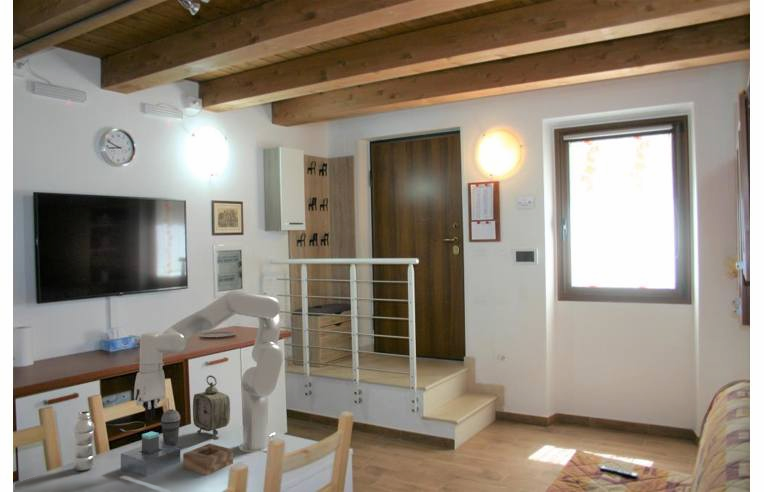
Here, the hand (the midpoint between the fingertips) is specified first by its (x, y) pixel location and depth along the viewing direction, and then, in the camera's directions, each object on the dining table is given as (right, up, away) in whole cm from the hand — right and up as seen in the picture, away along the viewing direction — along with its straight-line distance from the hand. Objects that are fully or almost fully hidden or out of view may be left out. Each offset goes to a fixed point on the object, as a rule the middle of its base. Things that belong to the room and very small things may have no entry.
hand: (150, 419), depth 200 cm
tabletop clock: (+12, -18, +34) cm, 40 cm away
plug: (0, -16, +1) cm, 16 cm away
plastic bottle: (-23, -18, -1) cm, 29 cm away
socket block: (0, -17, 0) cm, 17 cm away
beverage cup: (+1, -18, +17) cm, 25 cm away
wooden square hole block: (+21, -18, 0) cm, 27 cm away
